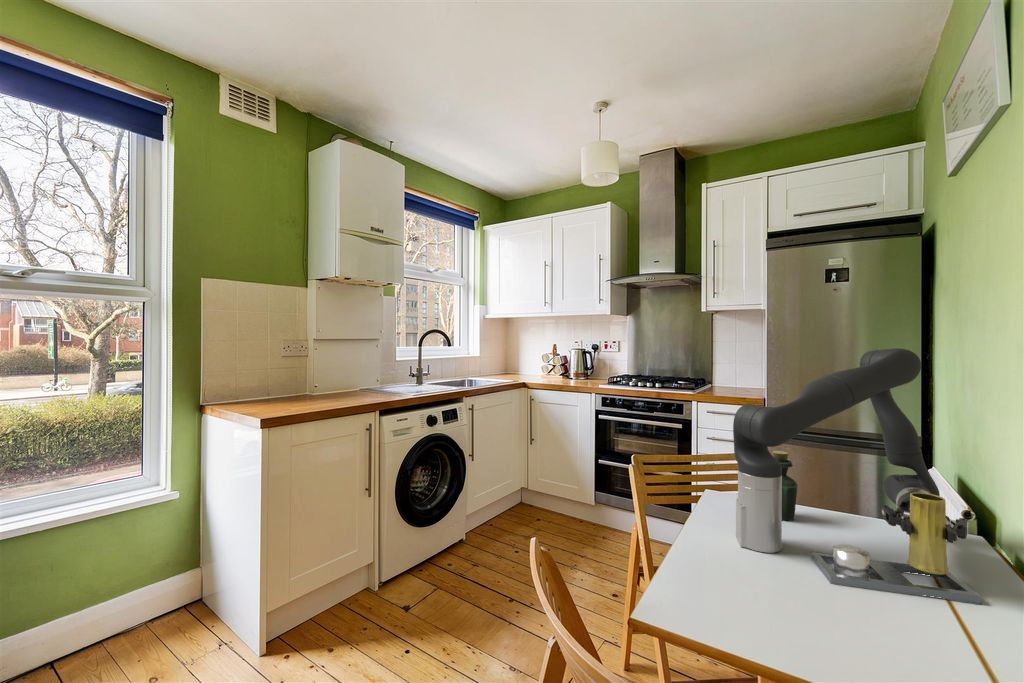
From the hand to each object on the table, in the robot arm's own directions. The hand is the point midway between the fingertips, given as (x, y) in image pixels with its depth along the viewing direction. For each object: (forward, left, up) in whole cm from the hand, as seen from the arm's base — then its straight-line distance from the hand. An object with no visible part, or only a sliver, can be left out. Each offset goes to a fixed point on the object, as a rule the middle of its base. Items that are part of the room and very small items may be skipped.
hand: (929, 533), depth 88 cm
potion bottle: (-17, +34, -11) cm, 40 cm away
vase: (+1, +2, -8) cm, 8 cm away
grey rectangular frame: (-6, +2, -11) cm, 13 cm away
